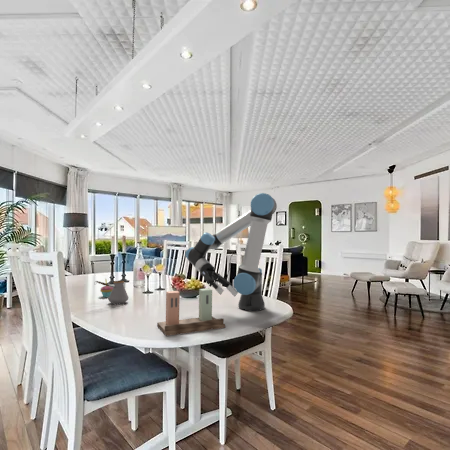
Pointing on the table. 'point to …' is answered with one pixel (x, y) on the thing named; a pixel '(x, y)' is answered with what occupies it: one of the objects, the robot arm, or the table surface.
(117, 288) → the coffee pot
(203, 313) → the pale green block
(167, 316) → the salmon orange rectangular block
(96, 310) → the table surface
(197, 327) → the wooden board
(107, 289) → the cupcake
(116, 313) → the table surface
